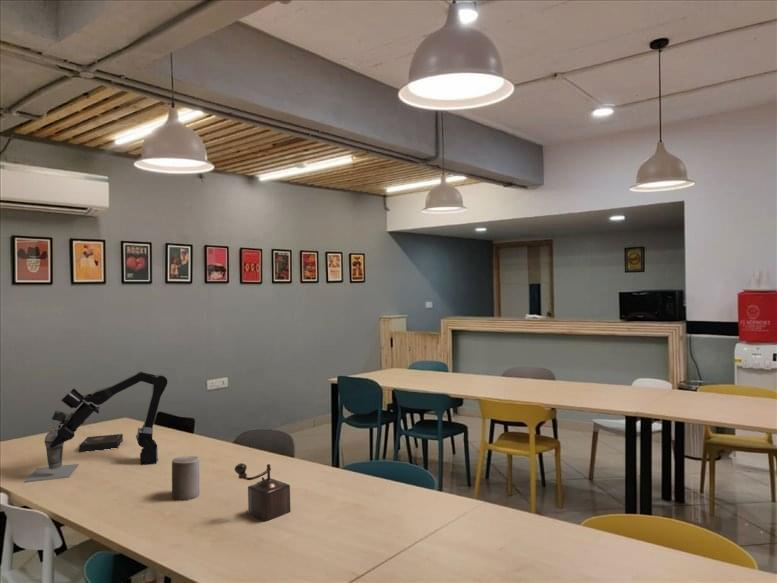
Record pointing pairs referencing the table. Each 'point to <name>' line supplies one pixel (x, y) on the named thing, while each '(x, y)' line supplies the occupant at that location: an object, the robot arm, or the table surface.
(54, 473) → the rubber mat
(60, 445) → the beverage cup
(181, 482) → the pillar candle
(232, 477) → the table surface
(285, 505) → the manual coffee grinder
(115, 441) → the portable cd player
